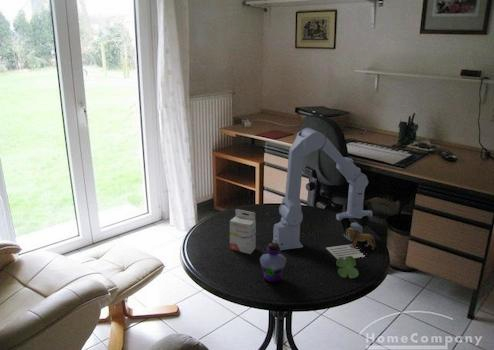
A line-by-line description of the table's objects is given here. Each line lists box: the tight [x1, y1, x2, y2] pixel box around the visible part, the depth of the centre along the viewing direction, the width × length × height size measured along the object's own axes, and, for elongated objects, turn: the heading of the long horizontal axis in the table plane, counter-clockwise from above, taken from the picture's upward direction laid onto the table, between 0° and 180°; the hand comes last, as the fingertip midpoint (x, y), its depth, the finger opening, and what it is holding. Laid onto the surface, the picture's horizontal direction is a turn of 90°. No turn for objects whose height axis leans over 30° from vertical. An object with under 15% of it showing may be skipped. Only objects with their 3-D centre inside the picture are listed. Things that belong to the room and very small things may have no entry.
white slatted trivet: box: [325, 243, 366, 260], centre depth 148 cm, size 12×10×1 cm
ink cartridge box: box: [229, 208, 257, 255], centre depth 148 cm, size 9×5×15 cm, turn 65°
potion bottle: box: [259, 242, 288, 284], centre depth 129 cm, size 9×9×12 cm
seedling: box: [335, 256, 360, 279], centre depth 134 cm, size 7×8×6 cm
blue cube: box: [343, 221, 364, 242], centre depth 159 cm, size 5×5×6 cm
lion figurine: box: [346, 228, 378, 251], centre depth 151 cm, size 12×4×7 cm, turn 86°
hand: (352, 235), depth 159 cm, fingers closed on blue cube, 5 cm apart
